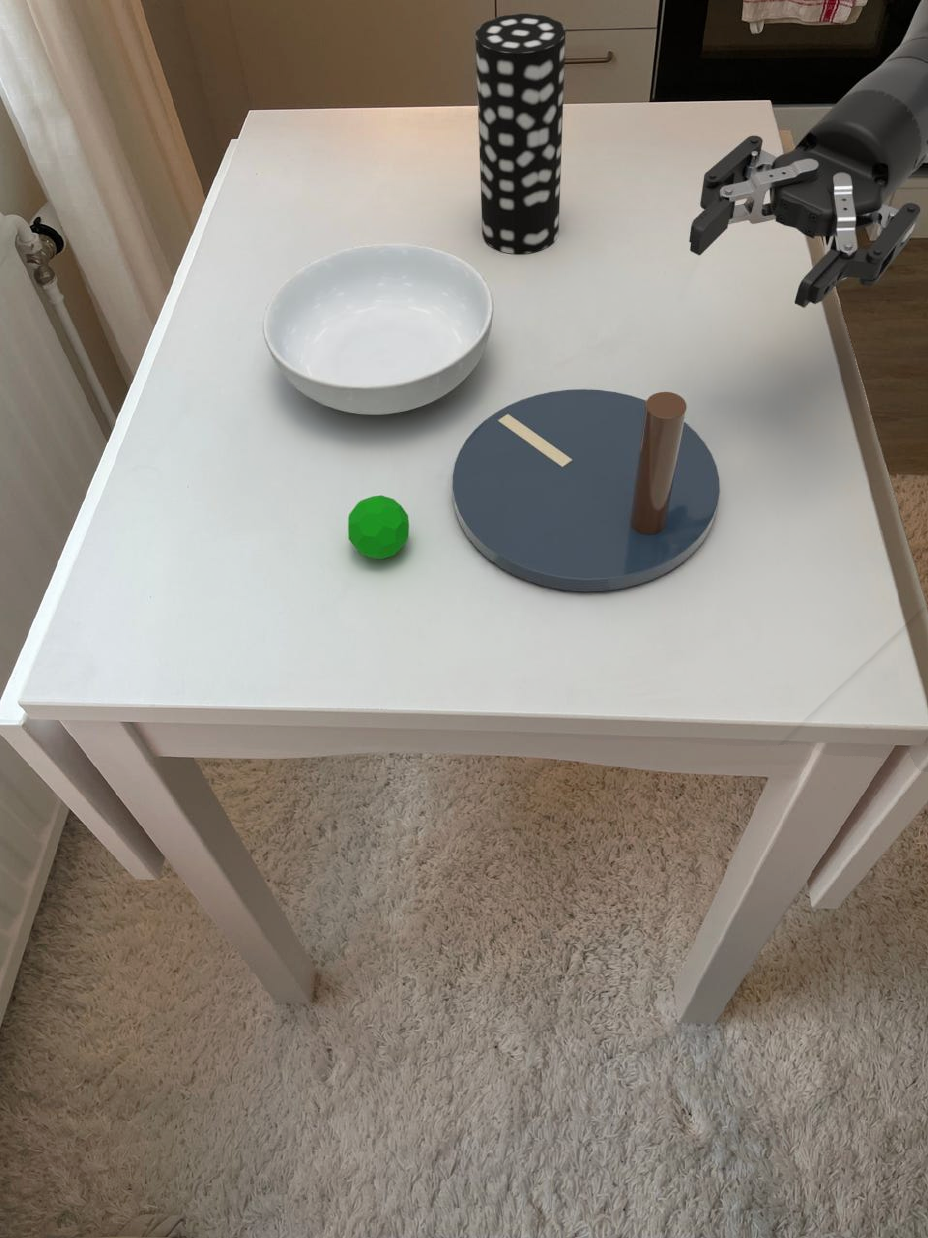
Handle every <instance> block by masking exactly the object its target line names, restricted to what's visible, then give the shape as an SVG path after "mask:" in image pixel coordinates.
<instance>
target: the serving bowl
mask: <svg viewBox="0 0 928 1238" xmlns="http://www.w3.org/2000/svg"><path fill="white" fill-rule="evenodd" d="M493 316H494V299H493V295H492V292H491V290H490V287H489V284H488V283H487V281H486V280H485V278H484V277H483V276H482V275H481V274H480V272H479V271H478V270H477V269H475V268H474V267H473V266H472V265H471V264H469V263H468V262H466V261H465V260H463V259H462V258H460V257H458V256H456V255H454V254H451V253H449V252H446V251H443V250H440V249H437V248H435V247H434V248H433V247H429V246H425V245H422V244H421V245H420V244H412V243H403V242H402V243H400V242H399V243H398V242H397V243H395V242H389V243H387V242H386V243H373V244H372V243H371V244H365V245H359V246H354V247H350V248H345V249H341V250H338V251H335V252H332V253H330V254H327V255H324V256H321V257H320V258H317V259H315V260H313V261H312V262H309V263H308V264H306V265H304V266H303V267H301V268H299V269H298V270H296V271H295V272H294V273H293V274H291V275H290V276H289V277H288V278H286V280H285V281H283V282H282V283H281V285H279V287H277V289H276V290H275V292H274V293H273V294H272V296H271V297H270V299H269V301H268V303H267V305H266V307H265V310H264V314H263V319H262V334H263V337H264V342H265V344H266V347H267V349H268V351H269V353H270V355H271V357H272V359H273V361H274V363H275V365H276V367H277V368H278V370H279V371H280V372H281V373H282V375H283V376H284V378H285V379H286V380H287V381H288V382H289V383H290V384H291V385H292V386H293V387H294V388H296V390H297V391H299V392H300V393H302V394H303V395H305V396H306V397H308V398H309V399H311V400H313V401H314V402H317V403H319V404H320V405H323V406H326V407H328V408H332V409H334V410H337V411H341V412H345V413H350V414H359V415H371V416H373V415H376V416H377V415H379V416H380V415H381V416H382V415H391V414H399V413H402V412H407V411H411V410H414V409H417V408H421V407H423V406H426V405H428V404H431V403H433V402H435V401H436V400H438V399H440V398H442V397H444V396H445V395H447V394H449V393H450V392H452V391H453V390H454V389H455V388H456V387H458V386H459V385H460V384H461V383H462V382H464V380H466V379H467V377H468V376H469V375H470V374H471V373H472V372H473V370H474V369H475V368H476V367H477V365H478V363H479V361H480V360H481V358H482V357H483V355H484V353H485V350H486V348H487V345H488V343H489V339H490V335H491V330H492V325H493V318H494V317H493Z"/></svg>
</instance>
